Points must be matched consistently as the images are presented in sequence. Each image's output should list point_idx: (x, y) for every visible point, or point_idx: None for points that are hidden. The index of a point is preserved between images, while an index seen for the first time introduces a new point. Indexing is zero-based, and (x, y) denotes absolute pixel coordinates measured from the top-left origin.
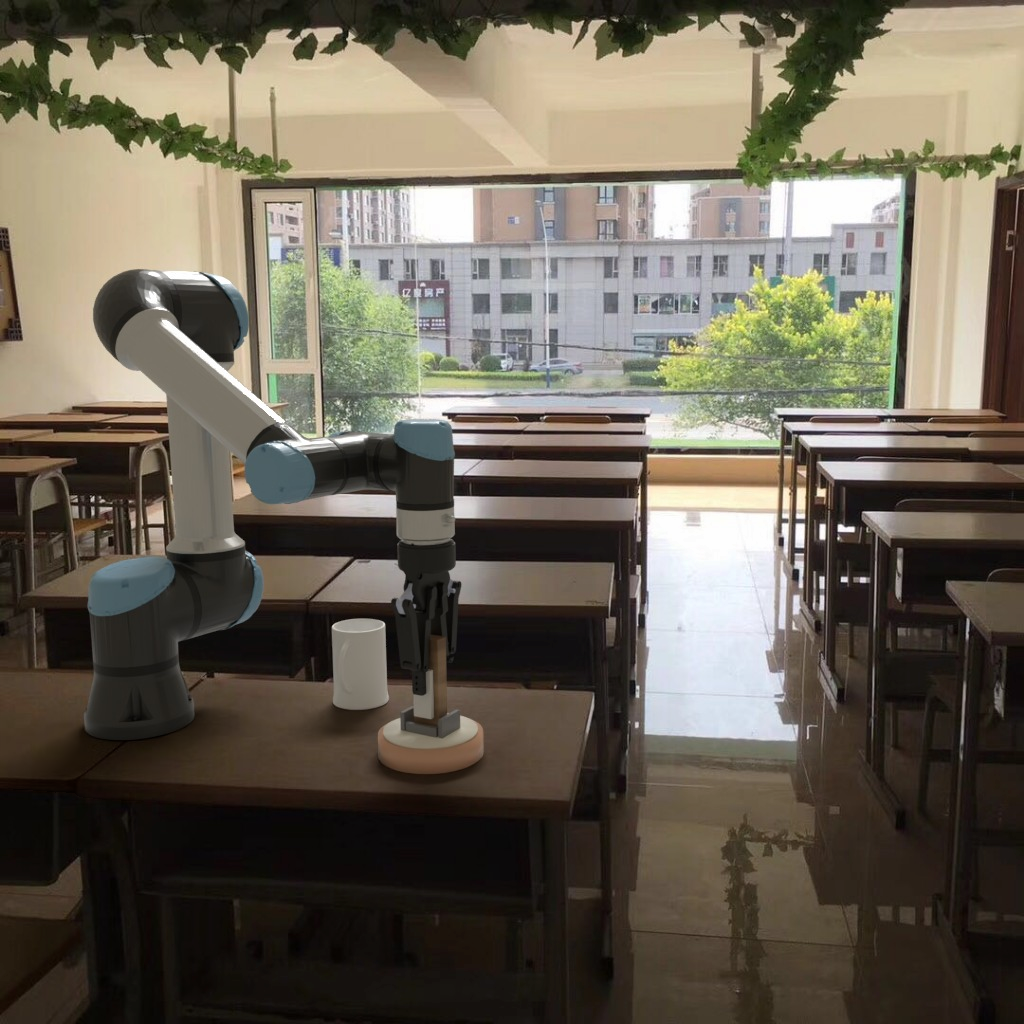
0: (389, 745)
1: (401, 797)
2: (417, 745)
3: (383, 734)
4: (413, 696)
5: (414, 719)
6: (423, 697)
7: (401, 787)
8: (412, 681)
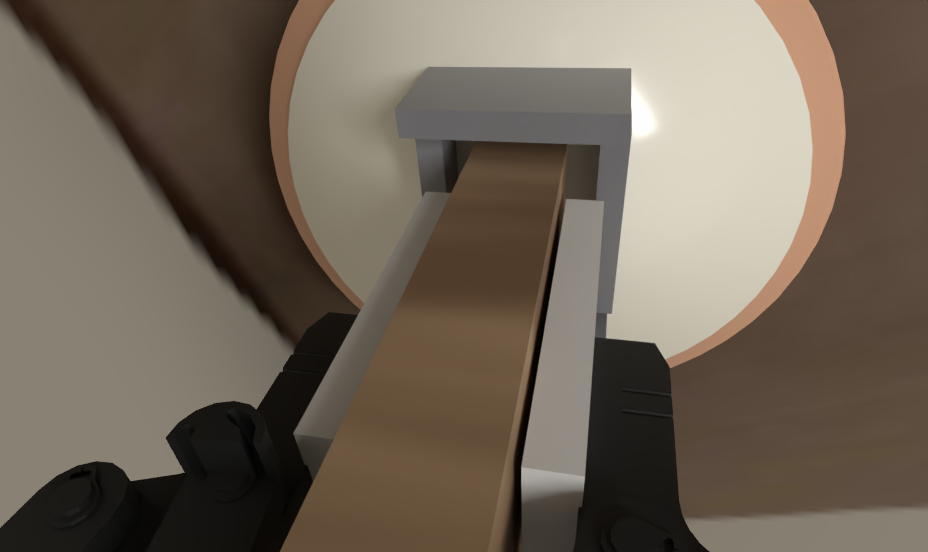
0: (274, 111)
1: (193, 241)
2: (326, 245)
3: (333, 3)
4: (386, 264)
5: (473, 151)
6: None
7: (236, 206)
8: (271, 388)
